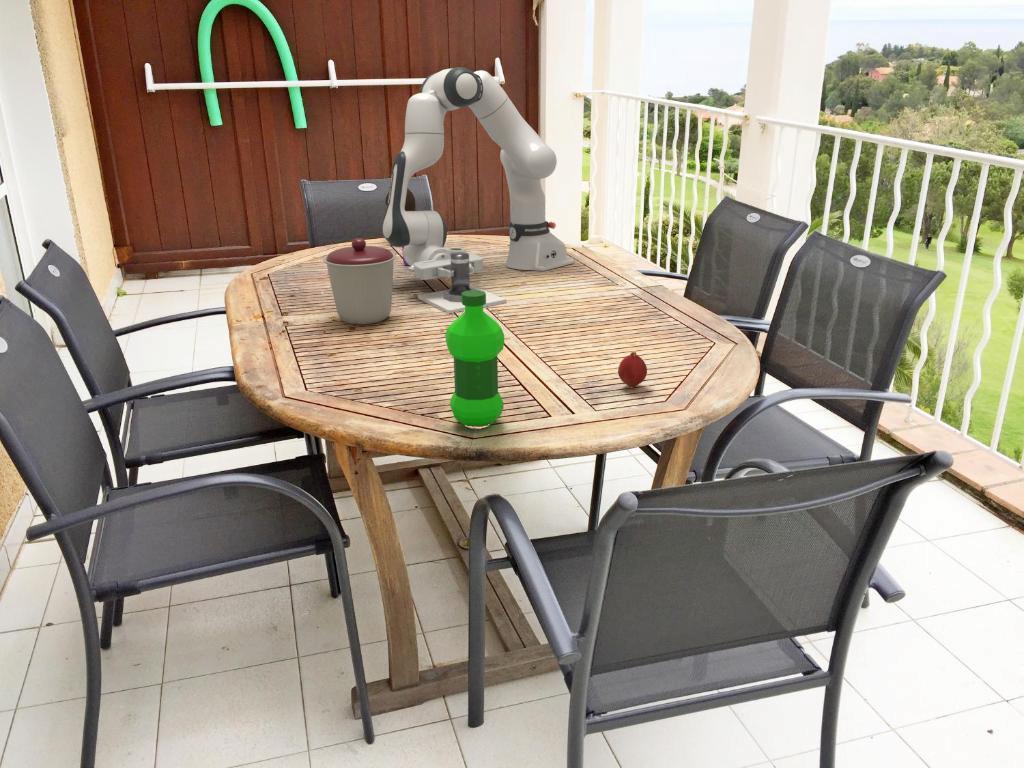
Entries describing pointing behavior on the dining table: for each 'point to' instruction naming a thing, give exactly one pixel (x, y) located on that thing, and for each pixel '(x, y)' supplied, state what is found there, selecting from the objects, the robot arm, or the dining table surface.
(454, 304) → the mount board
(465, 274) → the lens tube
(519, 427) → the dining table surface
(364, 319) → the canister
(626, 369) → the onion
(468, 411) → the plastic bottle
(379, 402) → the dining table surface
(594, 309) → the dining table surface
